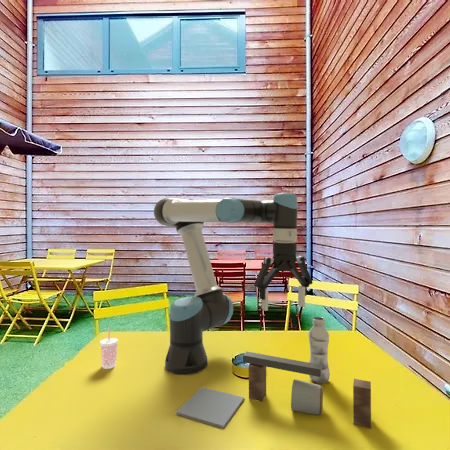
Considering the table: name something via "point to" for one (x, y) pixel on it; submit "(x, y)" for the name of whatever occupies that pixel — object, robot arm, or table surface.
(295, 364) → the dark grey bar
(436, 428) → the table surface
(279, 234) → the robot arm
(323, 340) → the plastic bottle
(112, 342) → the beverage cup
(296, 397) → the ceramic mug
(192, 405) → the mat
